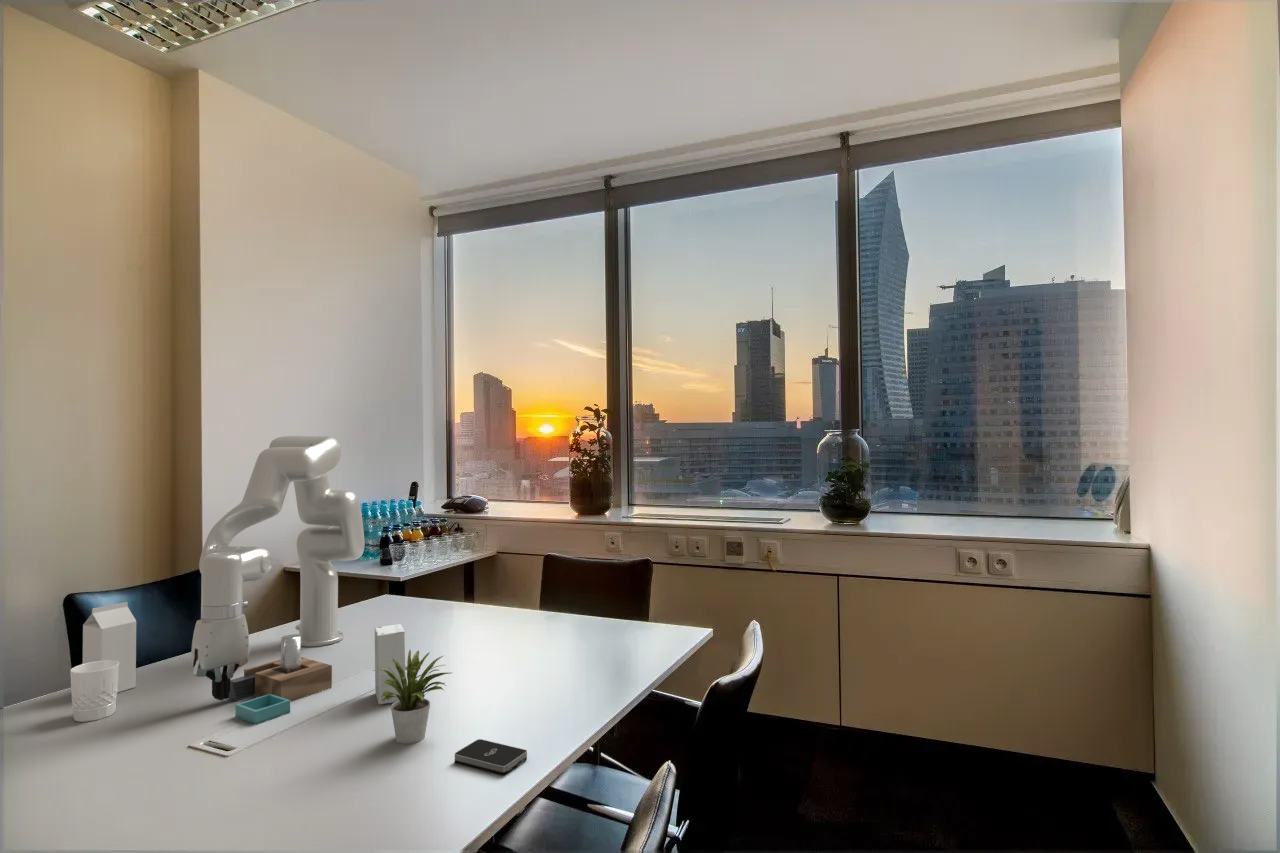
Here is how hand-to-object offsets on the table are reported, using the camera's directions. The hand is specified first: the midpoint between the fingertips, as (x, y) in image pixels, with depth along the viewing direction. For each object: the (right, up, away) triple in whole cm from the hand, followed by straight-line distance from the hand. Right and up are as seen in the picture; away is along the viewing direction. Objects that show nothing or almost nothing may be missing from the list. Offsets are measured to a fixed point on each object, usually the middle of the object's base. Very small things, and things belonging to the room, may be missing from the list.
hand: (221, 698), depth 149 cm
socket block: (+11, -1, +8) cm, 13 cm away
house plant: (+46, -1, -18) cm, 49 cm away
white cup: (-22, -1, -6) cm, 23 cm away
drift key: (+3, -1, +5) cm, 6 cm away
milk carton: (-30, -2, +8) cm, 31 cm away
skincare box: (+34, -2, +4) cm, 35 cm away
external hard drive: (+63, -1, -26) cm, 68 cm away
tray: (+12, -1, -6) cm, 14 cm away
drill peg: (+11, -1, +8) cm, 13 cm away
